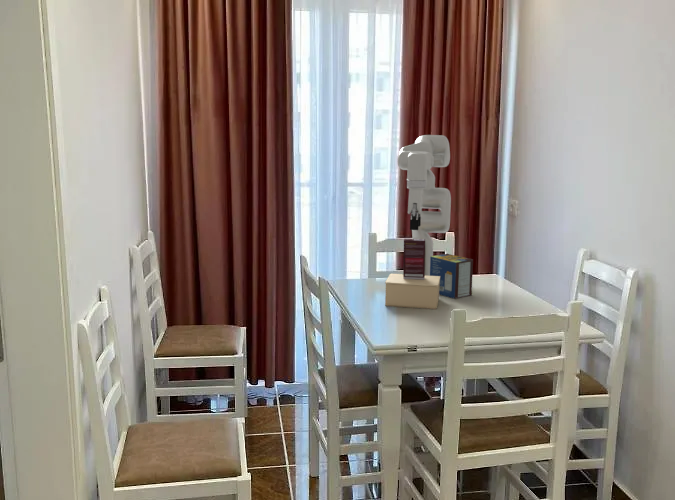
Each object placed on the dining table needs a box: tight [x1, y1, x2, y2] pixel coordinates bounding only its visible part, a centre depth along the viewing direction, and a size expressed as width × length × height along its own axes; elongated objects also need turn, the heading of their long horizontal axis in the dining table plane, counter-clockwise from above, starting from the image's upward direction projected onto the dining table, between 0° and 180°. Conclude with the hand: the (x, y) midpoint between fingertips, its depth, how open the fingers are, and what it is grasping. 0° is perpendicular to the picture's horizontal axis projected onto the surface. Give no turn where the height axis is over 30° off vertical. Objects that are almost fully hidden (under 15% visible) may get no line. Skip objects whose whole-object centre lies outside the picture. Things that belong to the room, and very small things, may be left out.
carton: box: [384, 280, 440, 310], centre depth 273 cm, size 16×20×9 cm
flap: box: [384, 273, 440, 287], centre depth 271 cm, size 16×20×1 cm
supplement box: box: [402, 237, 425, 280], centre depth 271 cm, size 9×5×16 cm, turn 82°
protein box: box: [430, 253, 474, 299], centre depth 287 cm, size 10×15×16 cm
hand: (415, 227), depth 269 cm, fingers open, 9 cm apart
